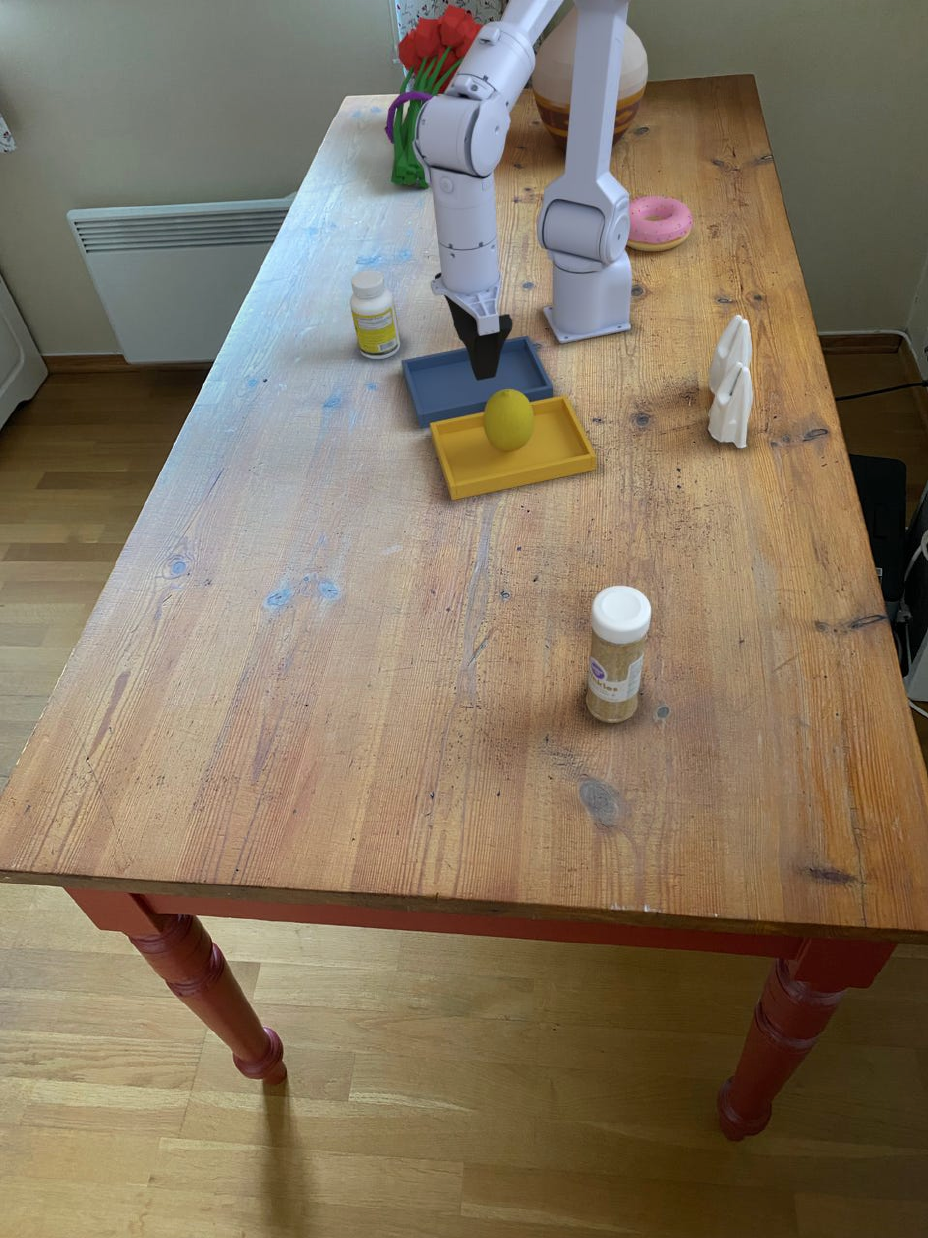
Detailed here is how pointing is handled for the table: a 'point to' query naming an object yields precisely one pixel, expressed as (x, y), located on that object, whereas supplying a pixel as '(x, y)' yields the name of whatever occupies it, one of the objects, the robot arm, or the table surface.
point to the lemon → (508, 420)
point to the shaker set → (731, 384)
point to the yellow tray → (490, 469)
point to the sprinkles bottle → (616, 652)
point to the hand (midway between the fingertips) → (476, 356)
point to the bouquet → (426, 81)
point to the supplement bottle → (374, 315)
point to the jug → (557, 78)
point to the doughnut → (658, 223)
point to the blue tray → (471, 381)
